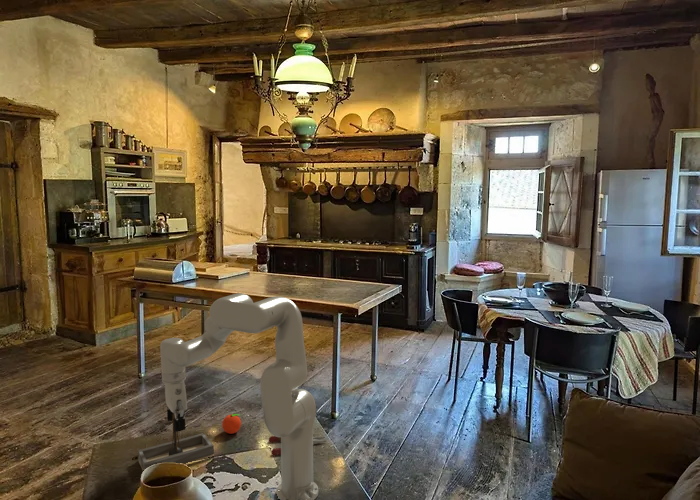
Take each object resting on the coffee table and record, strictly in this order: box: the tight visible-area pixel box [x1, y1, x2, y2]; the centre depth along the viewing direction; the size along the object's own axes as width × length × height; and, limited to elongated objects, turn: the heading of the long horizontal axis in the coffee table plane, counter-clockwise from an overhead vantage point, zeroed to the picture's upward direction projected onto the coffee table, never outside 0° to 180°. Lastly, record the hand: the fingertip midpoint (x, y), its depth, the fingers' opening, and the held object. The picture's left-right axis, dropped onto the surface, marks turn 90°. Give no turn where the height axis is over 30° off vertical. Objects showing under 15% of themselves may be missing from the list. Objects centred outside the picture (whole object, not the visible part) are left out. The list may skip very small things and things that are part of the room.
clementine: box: [221, 413, 243, 435], centre depth 186 cm, size 8×7×7 cm
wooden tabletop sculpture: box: [169, 409, 183, 456], centre depth 166 cm, size 6×5×20 cm
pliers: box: [268, 435, 327, 456], centre depth 177 cm, size 12×20×3 cm, turn 105°
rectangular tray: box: [137, 432, 215, 471], centre depth 167 cm, size 12×22×4 cm, turn 124°
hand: (176, 425), depth 166 cm, fingers open, 9 cm apart
